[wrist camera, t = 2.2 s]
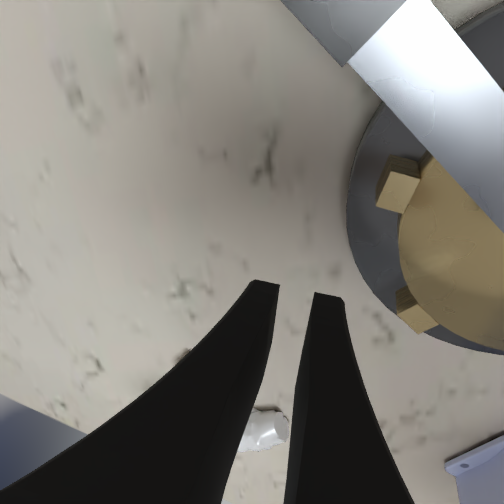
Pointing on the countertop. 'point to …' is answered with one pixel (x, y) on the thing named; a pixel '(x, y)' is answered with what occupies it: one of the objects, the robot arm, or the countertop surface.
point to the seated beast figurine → (264, 430)
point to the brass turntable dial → (431, 157)
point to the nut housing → (408, 146)
